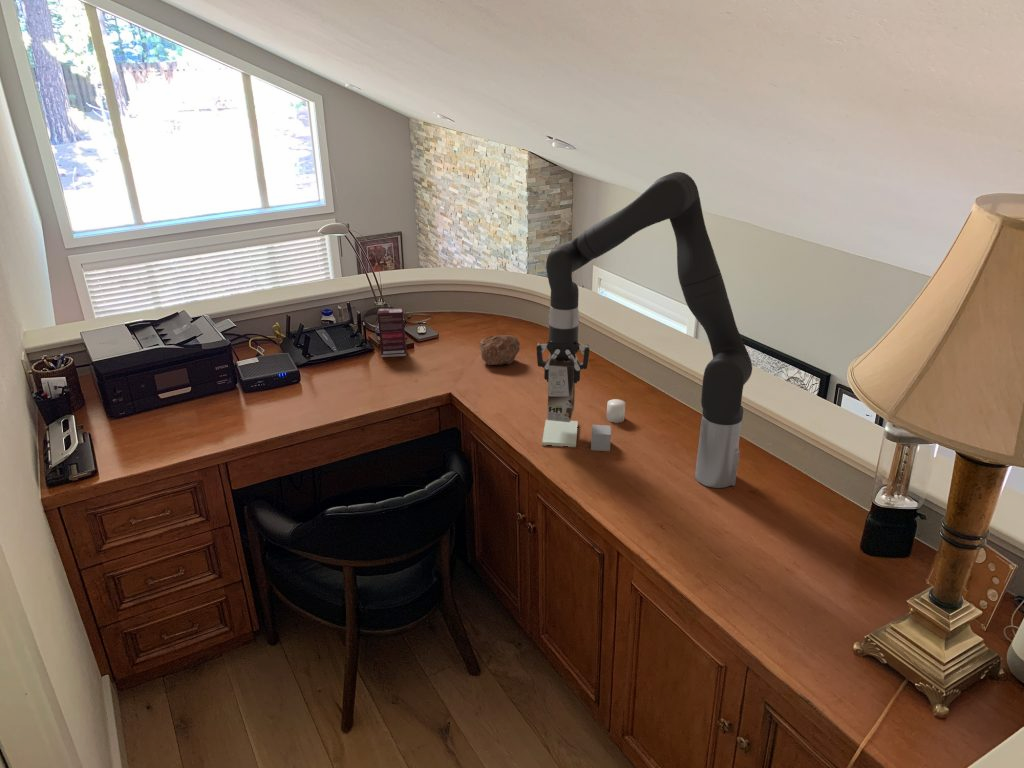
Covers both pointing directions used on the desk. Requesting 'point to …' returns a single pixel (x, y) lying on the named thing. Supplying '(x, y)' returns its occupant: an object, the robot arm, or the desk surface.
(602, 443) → the grey block
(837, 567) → the desk surface
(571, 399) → the coffee box
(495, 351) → the decorative rock
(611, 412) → the white rounded cylinder
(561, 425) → the sage board
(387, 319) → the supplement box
